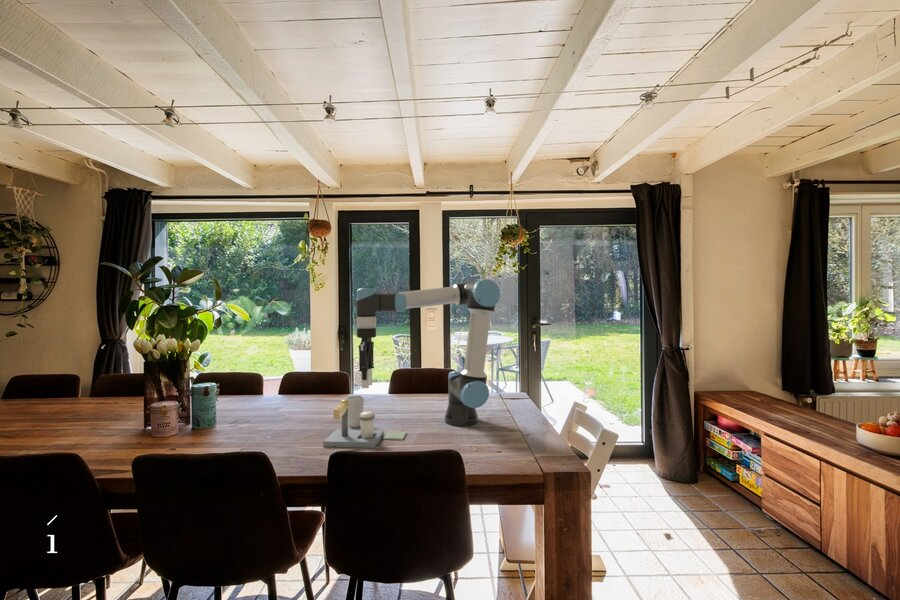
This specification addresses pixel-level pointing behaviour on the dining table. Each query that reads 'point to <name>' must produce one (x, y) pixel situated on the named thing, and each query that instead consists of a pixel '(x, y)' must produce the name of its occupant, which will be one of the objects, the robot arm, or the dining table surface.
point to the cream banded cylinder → (367, 425)
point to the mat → (394, 435)
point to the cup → (355, 410)
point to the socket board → (351, 437)
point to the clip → (341, 408)
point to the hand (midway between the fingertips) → (366, 386)
